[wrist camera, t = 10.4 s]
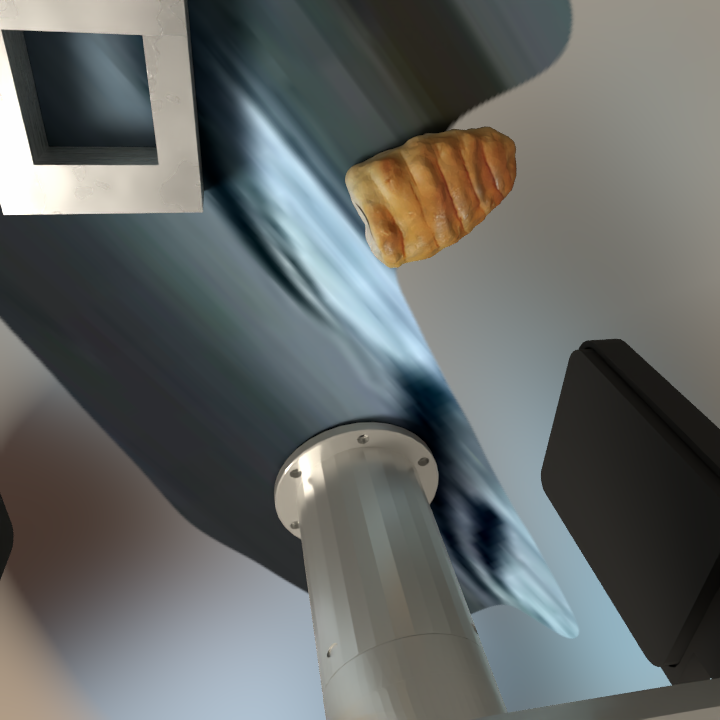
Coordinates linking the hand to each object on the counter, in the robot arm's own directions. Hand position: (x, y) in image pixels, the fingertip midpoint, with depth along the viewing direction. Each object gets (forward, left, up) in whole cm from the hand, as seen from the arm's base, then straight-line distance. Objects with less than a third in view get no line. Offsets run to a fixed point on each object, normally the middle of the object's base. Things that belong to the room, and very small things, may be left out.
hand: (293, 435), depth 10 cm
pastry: (-5, -10, -26) cm, 28 cm away
